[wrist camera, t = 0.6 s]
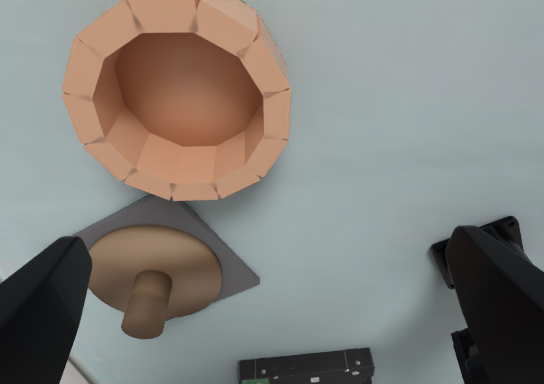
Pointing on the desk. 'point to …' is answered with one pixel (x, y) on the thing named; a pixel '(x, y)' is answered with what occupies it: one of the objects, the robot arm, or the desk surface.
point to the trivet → (180, 218)
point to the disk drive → (310, 368)
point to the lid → (153, 275)
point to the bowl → (179, 96)
